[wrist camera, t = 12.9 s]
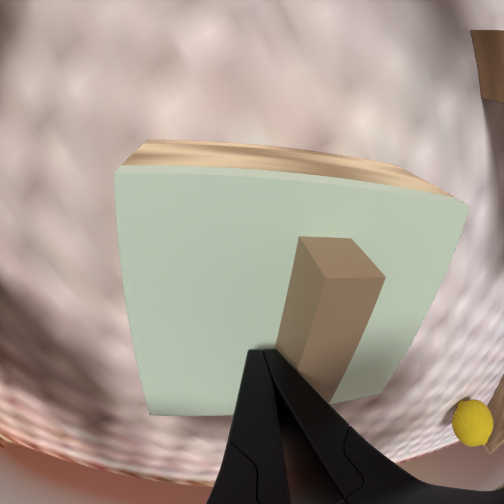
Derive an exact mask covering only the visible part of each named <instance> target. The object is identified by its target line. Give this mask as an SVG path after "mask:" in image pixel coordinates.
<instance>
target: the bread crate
mask: <svg viewBox="0 0 504 504" xmlns="http://www.w3.org/2000/svg"><path fill="white" fill-rule="evenodd" d="M487 407H488V409H489V410H490V412H491V415H492V418H493V430H492V432H491V435H490V436H489V438H488V441H487V443H486V444H484V446H485V448H486V450H487V452H488V454H490V453H492V452H493V451H494V450H496V449H497V448H498V447H499V446H501V445H502V444H503V443H504V375H503V378H502V380H501V382H500V384H499V386H498V388H497V390H496V392H495V393H494V395H493V397H492V399H491V401H490V403H489V405H488V406H487Z"/></svg>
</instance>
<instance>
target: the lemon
mask: <svg viewBox="0 0 504 504" xmlns="http://www.w3.org/2000/svg"><path fill="white" fill-rule="evenodd" d="M452 427H453V430H454V433H455V435H456V436H457V438H458V439H459V440H460V441H461V442H462V443H463V444H465V445H467V446H478V445H484V444H486V443H487V441H488V438H489V436H490V435H491V432H492V430H493V418H492V415H491V412H490V410H489V409H488V407H487V406H486V405H485V404H484V403H483V402H481V401H479V400H474V399H473V400H468V401H460V402H459V403H458V405H457V409H456V411H455V412H454V415H453V419H452Z"/></svg>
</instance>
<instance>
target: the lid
mask: <svg viewBox="0 0 504 504" xmlns="http://www.w3.org/2000/svg"><path fill="white" fill-rule="evenodd" d="M114 183H115V205H116V221H117V234H118V245H119V255H120V264H121V272H122V280H123V288H124V295H125V301H126V308H127V314H128V320H129V326H130V331H131V336H132V342H133V347H134V352H135V356H136V361H137V366H138V370H139V375H140V379H141V383H142V387H143V391H144V395H145V399H146V403H147V407H148V410H149V414H150V415H159V416H221V415H233V414H234V410H235V406H236V401H237V397H238V392H239V388H240V383H241V378H242V374H243V369H244V365H245V360H246V356H247V351H248V350H249V349H261V350H262V349H265V348H275V349H277V350H278V351H279V352H280V354H281V355H282V356H283V357H284V358H285V359H286V360H287V361H288V362H289V363H290V364H291V365H292V366H293V367H294V368H295V370H296V371H297V372H298V373H299V374H300V375H301V376H302V377H303V378H304V379H305V380H306V381H307V382H308V383H309V384H310V385H311V386H312V387H313V388H314V389H315V390H316V391H317V392H318V393H319V394H320V396H321V397H322V398H323V399H324V400H325V401H326V402H327V403H328V404H335V403H340V402H346V401H351V400H356V399H361V398H365V397H370V396H374V395H379V394H381V393H382V391H383V390H384V388H385V386H386V385H387V383H388V382H389V380H390V379H391V377H392V375H393V374H394V372H395V370H396V369H397V367H398V366H399V364H400V362H401V360H402V359H403V357H404V355H405V354H406V352H407V350H408V348H409V347H410V345H411V343H412V341H413V339H414V337H415V336H416V334H417V332H418V330H419V328H420V326H421V324H422V322H423V320H424V318H425V316H426V314H427V312H428V310H429V308H430V306H431V304H432V302H433V300H434V298H435V296H436V293H437V291H438V289H439V287H440V285H441V282H442V280H443V278H444V275H445V273H446V271H447V268H448V266H449V263H450V261H451V259H452V256H453V253H454V251H455V248H456V246H457V243H458V240H459V238H460V235H461V232H462V229H463V226H464V223H465V220H466V217H467V214H468V211H469V208H470V206H469V205H467V204H466V203H464V202H462V201H461V200H459V199H457V198H455V197H450V196H445V195H441V194H436V193H430V192H425V191H420V190H414V189H409V188H403V187H397V186H391V185H385V184H379V183H372V182H365V181H358V180H351V179H343V178H336V177H328V176H319V175H310V174H301V173H290V172H280V171H268V170H255V169H240V168H223V167H202V166H167V165H122V166H121V167H120V168H119V169H118V170H117V171H116V172H115V173H114Z"/></svg>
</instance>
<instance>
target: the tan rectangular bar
mask: <svg viewBox="0 0 504 504" xmlns="http://www.w3.org/2000/svg"><path fill="white" fill-rule="evenodd" d="M470 31H471V35H472V40H473V45H474V50H475V55H476V61H477V67H478V74H479V81H480V89H481V98H484V99H488V100H493V101H497V102H501V103H504V31H501V30H470Z"/></svg>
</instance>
